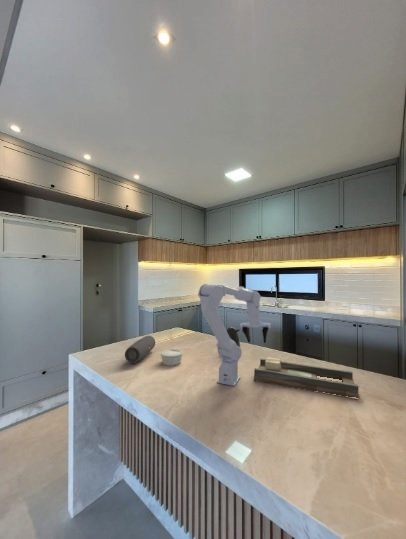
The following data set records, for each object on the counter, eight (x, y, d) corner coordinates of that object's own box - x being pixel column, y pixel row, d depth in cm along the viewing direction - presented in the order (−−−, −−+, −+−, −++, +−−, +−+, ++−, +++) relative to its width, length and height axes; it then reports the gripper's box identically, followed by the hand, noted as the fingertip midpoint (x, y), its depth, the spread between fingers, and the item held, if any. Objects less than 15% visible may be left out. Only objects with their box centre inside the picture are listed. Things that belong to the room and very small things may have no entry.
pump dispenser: (235, 356, 135) (235, 329, 135) (219, 353, 141) (219, 327, 141) (243, 352, 143) (243, 326, 143) (228, 348, 149) (228, 324, 150)
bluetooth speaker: (140, 366, 121) (141, 346, 122) (123, 365, 123) (123, 345, 123) (156, 351, 144) (156, 334, 144) (141, 350, 145) (141, 334, 145)
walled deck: (358, 399, 89) (358, 387, 89) (253, 380, 105) (253, 370, 105) (351, 381, 105) (351, 370, 105) (261, 366, 121) (261, 357, 121)
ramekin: (184, 359, 131) (184, 349, 132) (180, 367, 120) (180, 356, 120) (164, 358, 133) (164, 348, 133) (158, 366, 121) (158, 355, 122)
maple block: (279, 374, 106) (279, 363, 106) (265, 372, 109) (265, 361, 109) (280, 369, 112) (280, 359, 112) (267, 367, 114) (267, 357, 114)
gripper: (270, 312, 117) (273, 339, 118) (241, 312, 123) (244, 338, 124) (268, 316, 111) (271, 345, 112) (237, 317, 116) (241, 343, 118)
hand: (257, 341), depth 117 cm, fingers open, 7 cm apart
